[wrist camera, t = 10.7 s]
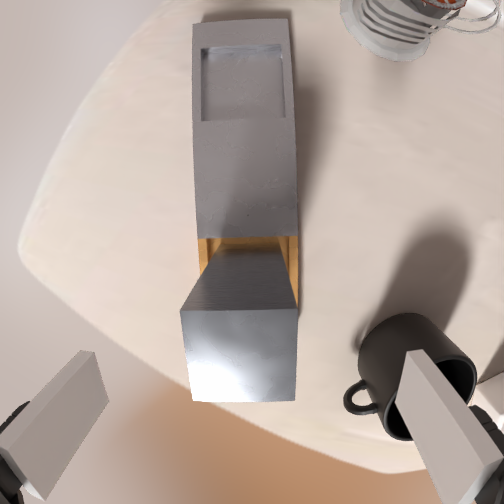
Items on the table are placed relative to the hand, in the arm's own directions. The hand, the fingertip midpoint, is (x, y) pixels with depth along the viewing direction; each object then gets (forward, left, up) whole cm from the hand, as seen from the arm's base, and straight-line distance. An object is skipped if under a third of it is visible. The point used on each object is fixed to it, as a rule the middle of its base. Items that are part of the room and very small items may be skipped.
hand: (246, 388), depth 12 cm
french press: (-15, -24, -17) cm, 33 cm away
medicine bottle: (-33, +20, -17) cm, 42 cm away
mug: (-14, +10, -17) cm, 24 cm away
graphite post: (0, 0, -16) cm, 16 cm away
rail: (0, -8, -17) cm, 18 cm away
